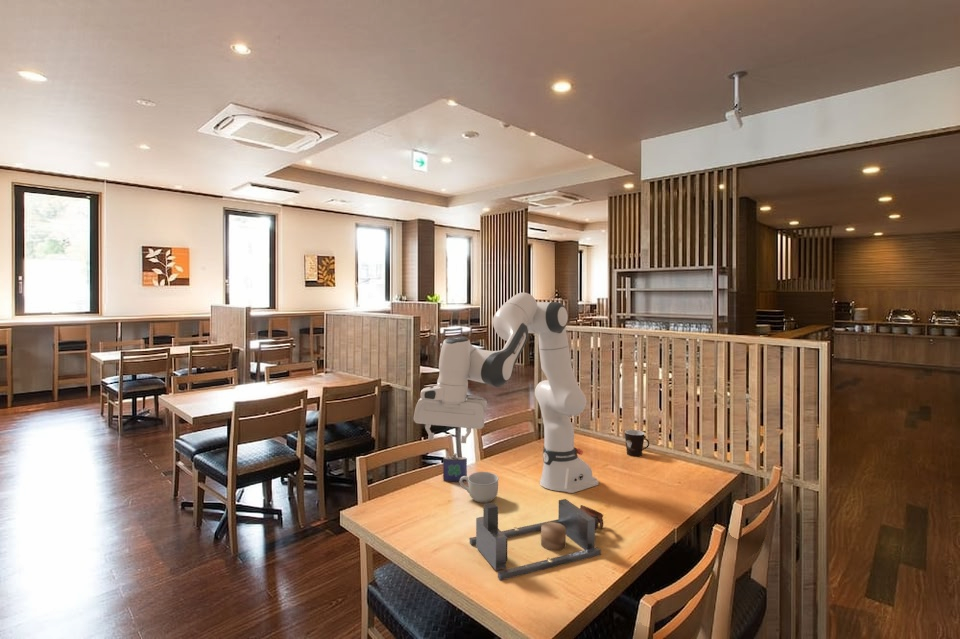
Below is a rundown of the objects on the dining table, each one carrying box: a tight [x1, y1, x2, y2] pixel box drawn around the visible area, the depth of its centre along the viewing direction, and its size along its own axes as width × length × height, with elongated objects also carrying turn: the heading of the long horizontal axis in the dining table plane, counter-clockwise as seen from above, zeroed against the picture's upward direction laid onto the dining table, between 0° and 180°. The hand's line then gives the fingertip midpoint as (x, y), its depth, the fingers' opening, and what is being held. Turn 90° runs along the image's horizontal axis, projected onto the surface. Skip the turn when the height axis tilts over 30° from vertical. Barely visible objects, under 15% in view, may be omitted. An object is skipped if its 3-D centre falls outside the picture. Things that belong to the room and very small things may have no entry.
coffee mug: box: [624, 429, 650, 458], centre depth 222 cm, size 12×9×10 cm
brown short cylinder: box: [540, 521, 567, 552], centre depth 144 cm, size 7×7×5 cm
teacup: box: [458, 471, 499, 504], centre depth 176 cm, size 14×11×8 cm
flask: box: [442, 452, 468, 483], centre depth 192 cm, size 9×3×11 cm, turn 87°
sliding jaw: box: [475, 502, 508, 571], centre depth 136 cm, size 4×13×14 cm, turn 23°
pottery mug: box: [579, 504, 604, 532], centre depth 152 cm, size 12×10×8 cm
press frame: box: [469, 498, 602, 581], centre depth 141 cm, size 31×21×9 cm
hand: (447, 441), depth 142 cm, fingers open, 8 cm apart
